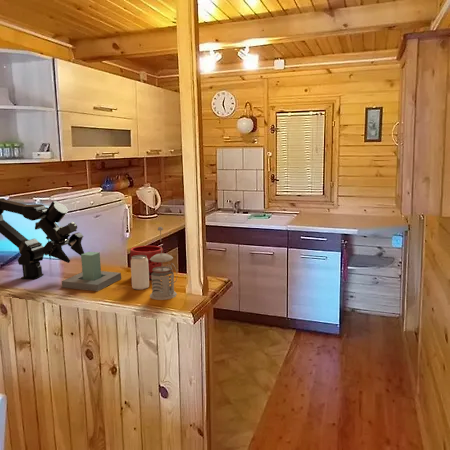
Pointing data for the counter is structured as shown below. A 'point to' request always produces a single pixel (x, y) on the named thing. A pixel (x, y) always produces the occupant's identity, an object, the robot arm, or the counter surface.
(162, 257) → the french press
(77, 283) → the socket plate
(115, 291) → the counter surface
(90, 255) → the plug block
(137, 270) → the can
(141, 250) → the plant pot
